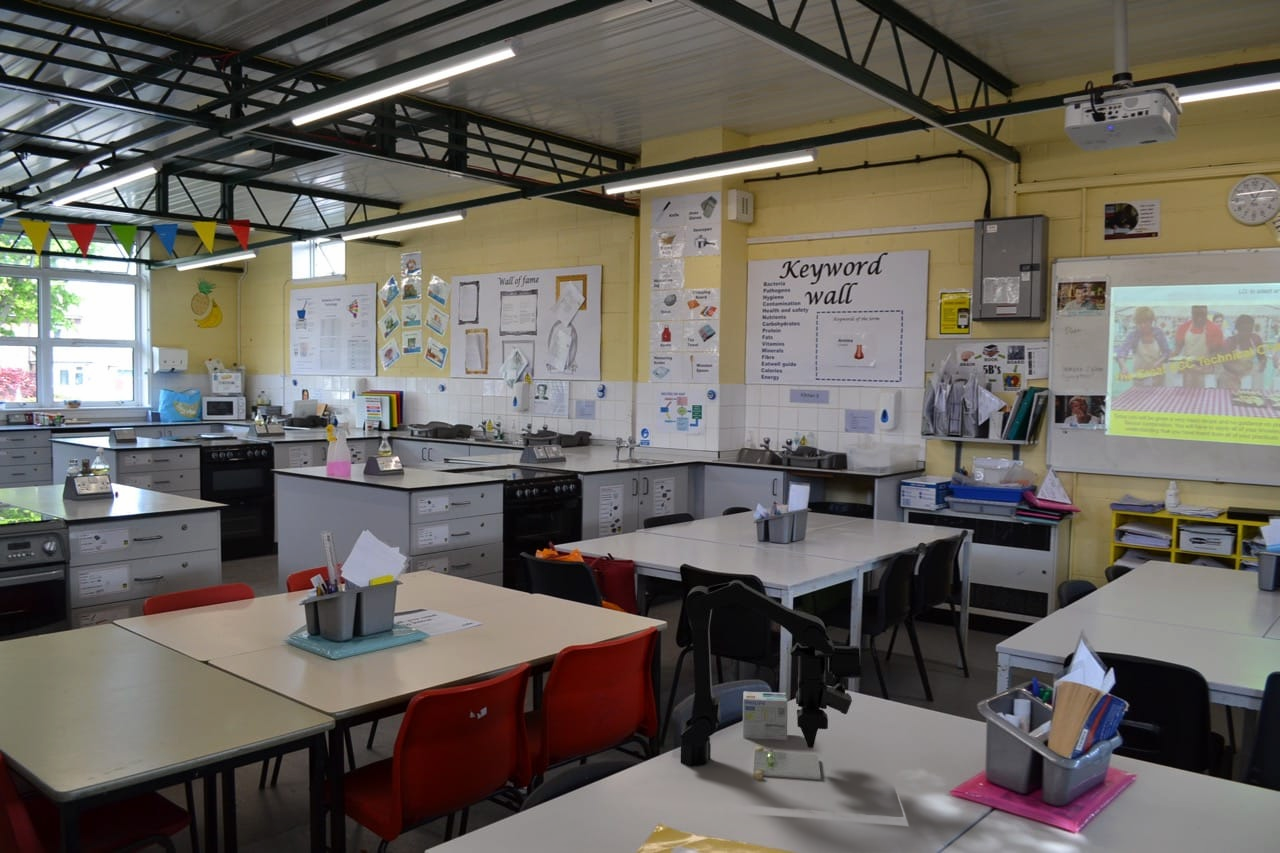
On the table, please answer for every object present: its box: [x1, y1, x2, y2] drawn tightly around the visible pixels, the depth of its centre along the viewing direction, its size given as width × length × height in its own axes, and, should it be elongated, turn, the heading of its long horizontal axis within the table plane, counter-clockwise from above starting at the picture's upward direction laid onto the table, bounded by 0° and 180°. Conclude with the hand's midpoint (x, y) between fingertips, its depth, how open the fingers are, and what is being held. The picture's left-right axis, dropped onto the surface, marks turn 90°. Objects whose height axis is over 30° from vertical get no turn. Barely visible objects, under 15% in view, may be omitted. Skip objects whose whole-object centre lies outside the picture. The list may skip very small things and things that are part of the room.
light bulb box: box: [742, 690, 788, 741], centre depth 219 cm, size 11×7×11 cm, turn 84°
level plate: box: [753, 749, 821, 781], centre depth 199 cm, size 14×11×3 cm
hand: (810, 747), depth 198 cm, fingers closed
